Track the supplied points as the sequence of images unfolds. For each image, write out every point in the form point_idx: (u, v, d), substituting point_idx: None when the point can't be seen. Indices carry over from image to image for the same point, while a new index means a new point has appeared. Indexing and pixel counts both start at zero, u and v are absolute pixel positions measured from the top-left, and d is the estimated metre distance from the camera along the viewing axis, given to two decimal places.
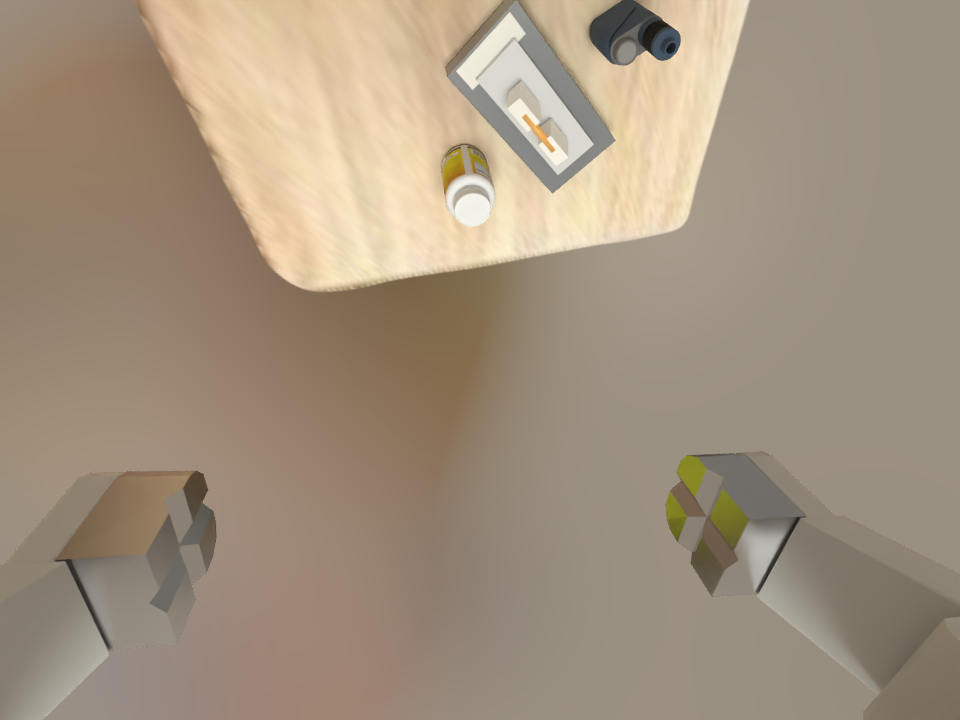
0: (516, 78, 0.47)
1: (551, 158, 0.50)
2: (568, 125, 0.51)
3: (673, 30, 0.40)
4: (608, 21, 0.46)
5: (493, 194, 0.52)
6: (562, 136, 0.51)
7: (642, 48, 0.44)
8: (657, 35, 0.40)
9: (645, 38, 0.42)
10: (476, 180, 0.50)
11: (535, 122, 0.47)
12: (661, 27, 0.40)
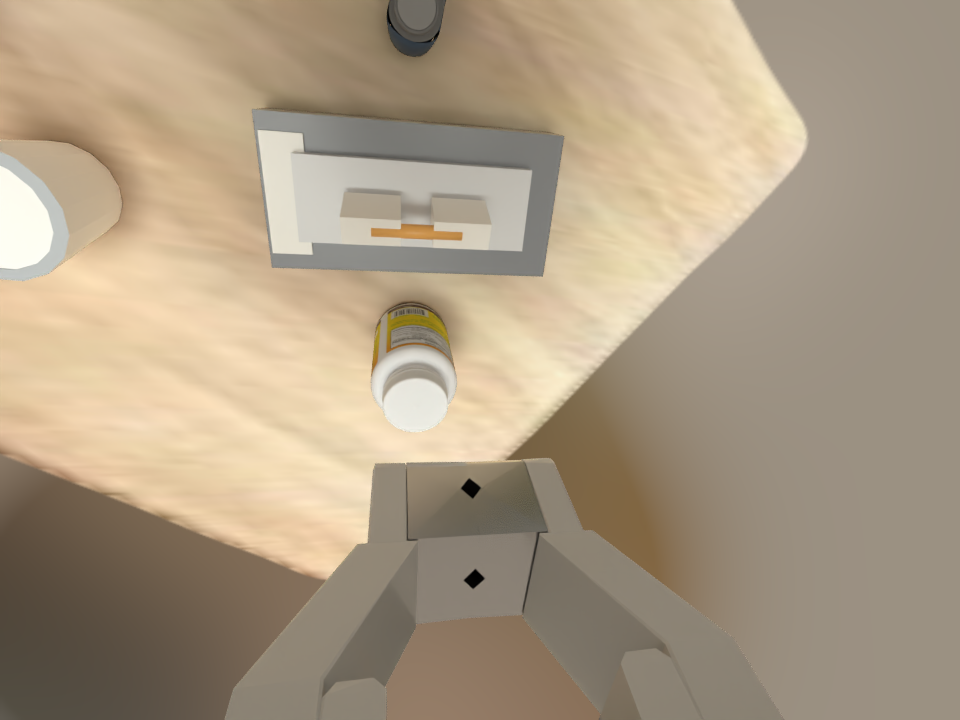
0: (341, 193, 0.28)
1: (470, 247, 0.27)
2: (469, 182, 0.29)
3: None
4: None
5: (436, 357, 0.30)
6: (468, 203, 0.28)
7: None
8: None
9: None
10: (394, 361, 0.29)
11: (395, 225, 0.26)
12: None
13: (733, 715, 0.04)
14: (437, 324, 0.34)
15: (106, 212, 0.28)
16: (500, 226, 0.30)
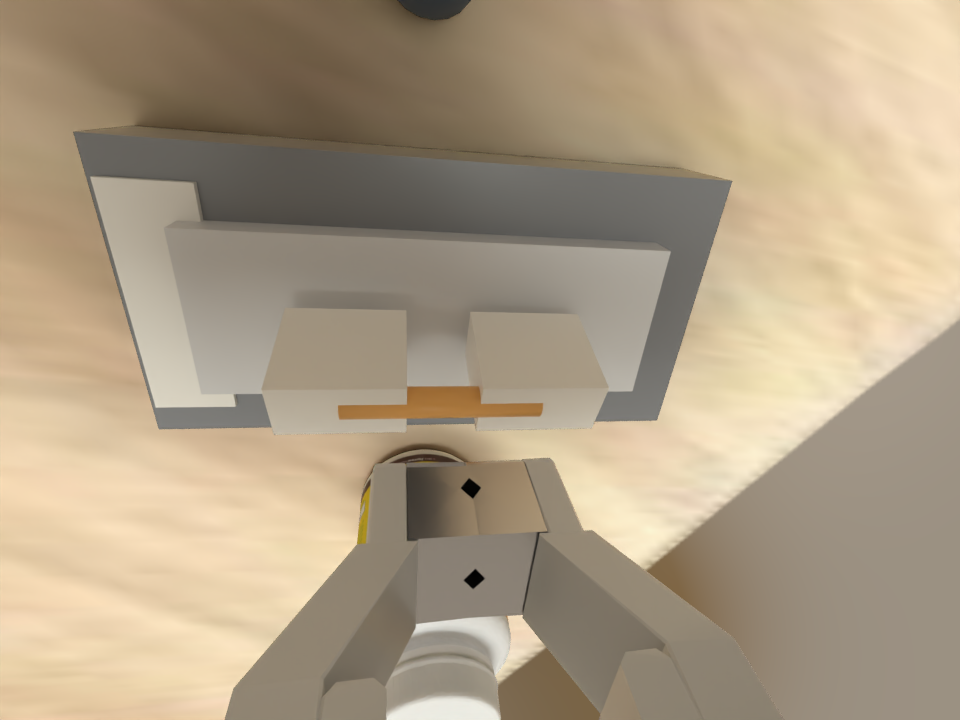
0: (283, 305, 0.13)
1: (556, 425, 0.13)
2: (545, 276, 0.14)
3: None
4: None
5: None
6: (546, 326, 0.13)
7: None
8: None
9: None
10: None
11: (393, 399, 0.11)
12: None
13: (733, 715, 0.04)
14: None
15: None
16: (597, 352, 0.16)
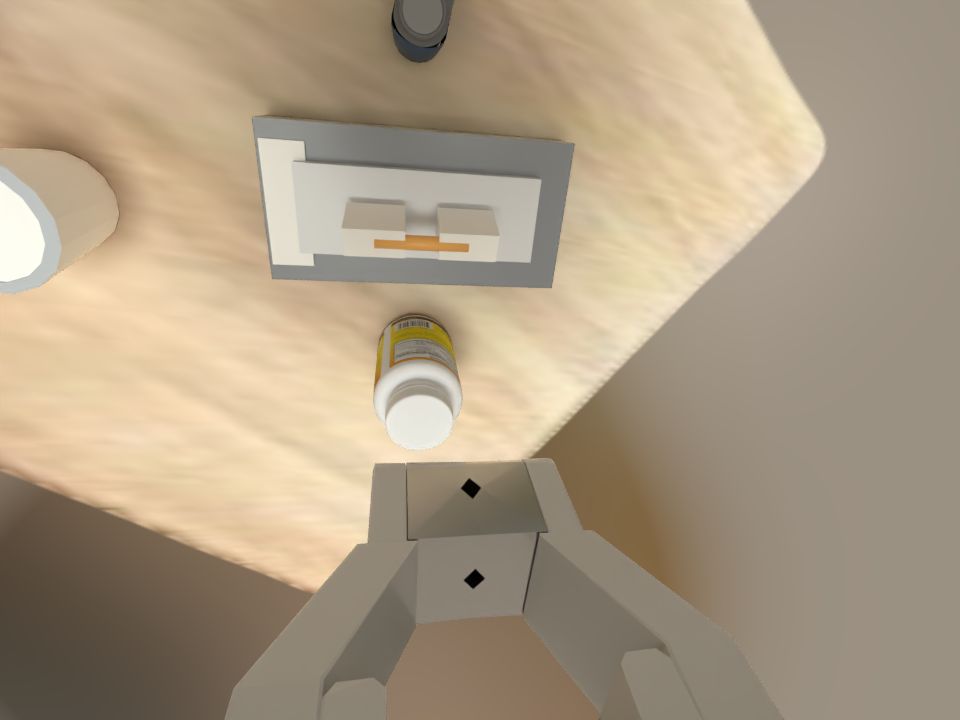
0: (344, 203, 0.27)
1: (477, 259, 0.26)
2: (476, 191, 0.28)
3: None
4: None
5: (441, 373, 0.29)
6: (474, 214, 0.27)
7: None
8: None
9: None
10: (398, 376, 0.28)
11: (399, 237, 0.25)
12: None
13: (733, 715, 0.04)
14: (442, 337, 0.33)
15: (102, 223, 0.27)
16: (508, 237, 0.29)
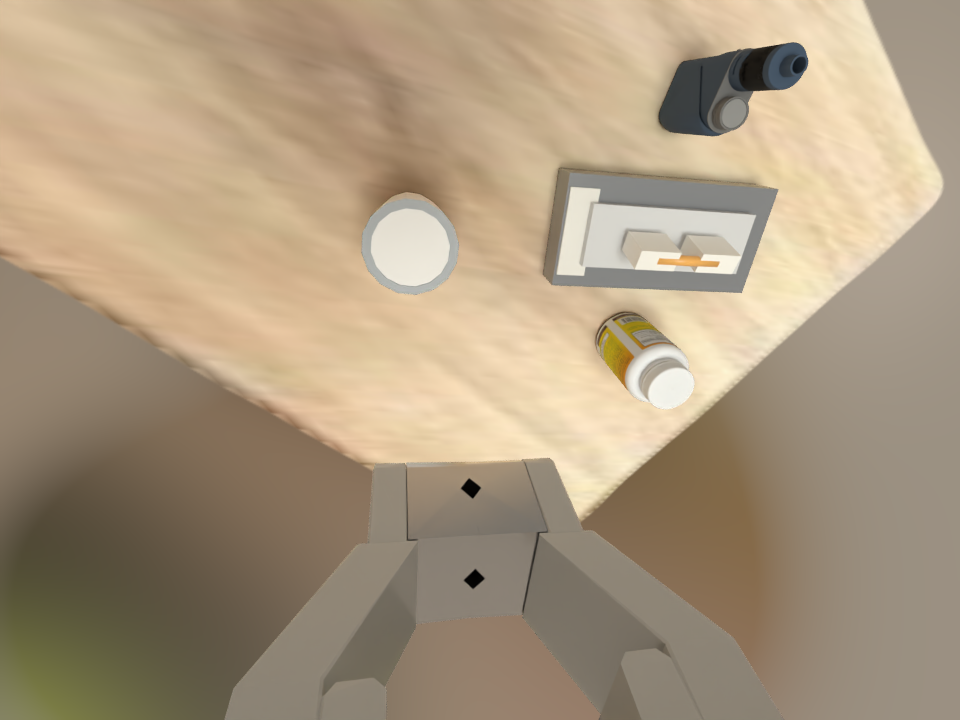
0: (620, 232, 0.38)
1: (720, 271, 0.37)
2: (710, 223, 0.39)
3: (784, 46, 0.27)
4: (679, 102, 0.35)
5: (680, 353, 0.39)
6: (714, 240, 0.38)
7: (748, 92, 0.32)
8: (766, 69, 0.28)
9: (747, 83, 0.30)
10: (652, 355, 0.39)
11: (676, 256, 0.36)
12: (763, 57, 0.28)
13: (733, 715, 0.04)
14: None
15: None
16: None
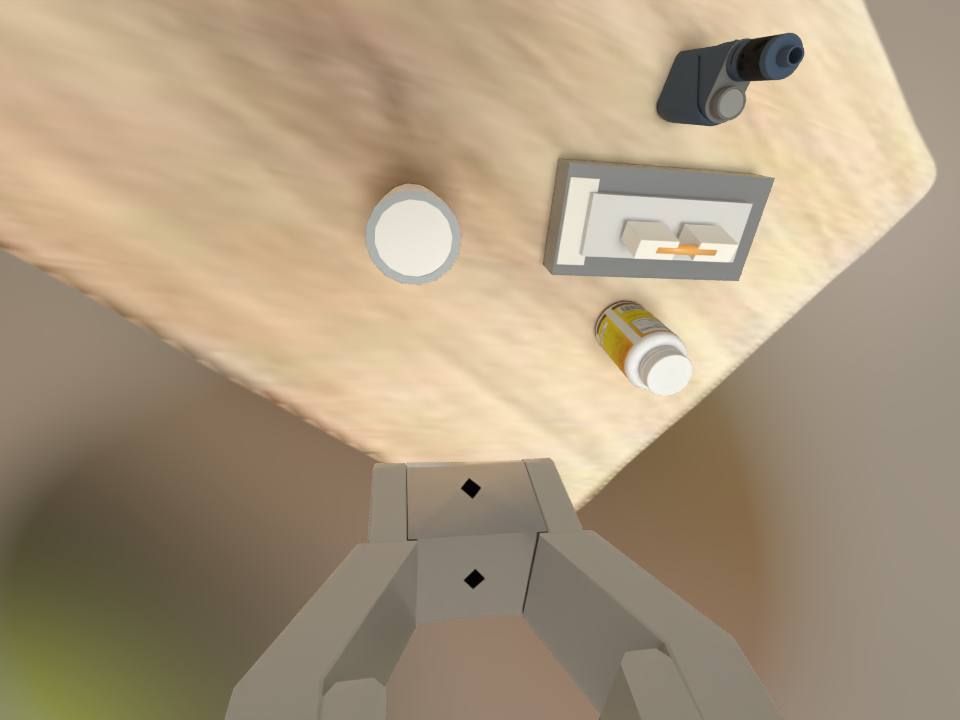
0: (620, 221, 0.39)
1: (718, 260, 0.38)
2: (708, 212, 0.39)
3: (781, 37, 0.27)
4: (677, 92, 0.36)
5: (678, 341, 0.40)
6: (711, 228, 0.39)
7: (745, 82, 0.32)
8: (763, 59, 0.28)
9: (744, 73, 0.30)
10: (651, 343, 0.40)
11: (674, 245, 0.36)
12: (760, 48, 0.28)
13: (733, 715, 0.04)
14: None
15: None
16: None
